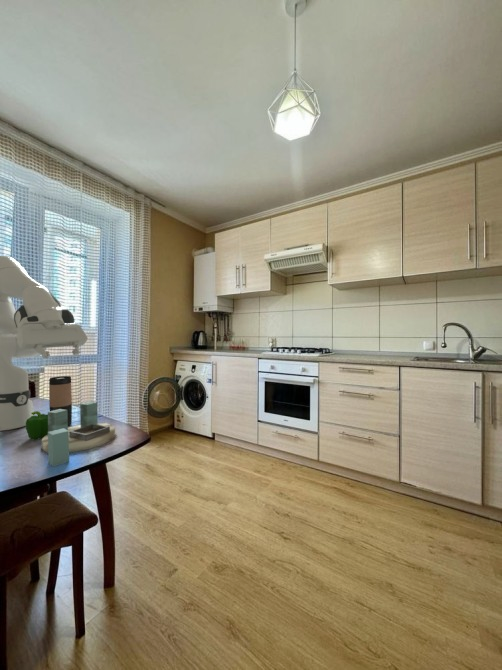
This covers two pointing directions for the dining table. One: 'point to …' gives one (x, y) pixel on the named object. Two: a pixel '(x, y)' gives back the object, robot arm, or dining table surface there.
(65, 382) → the travel mug
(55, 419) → the stool seat
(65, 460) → the loose leg
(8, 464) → the dining table surface
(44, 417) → the bell pepper
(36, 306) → the robot arm
